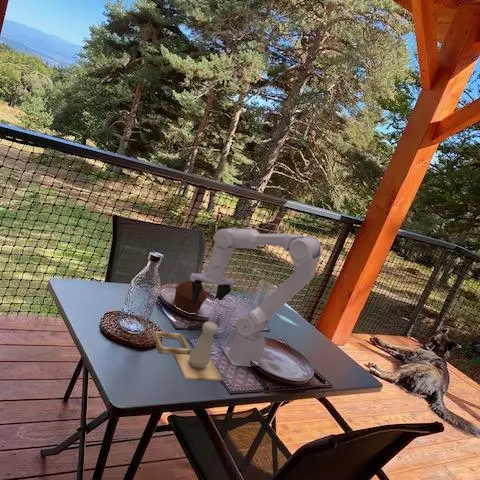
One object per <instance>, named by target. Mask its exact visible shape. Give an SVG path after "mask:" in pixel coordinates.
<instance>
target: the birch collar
mask: <svg viewBox="0 0 480 480" xmlns="http://www.w3.org/2000/svg"><path fill="white" fill-rule="evenodd" d="M152 335H153V337H154V339H155V342H156V344H155V346H156V348H157V351H158V353H160V354H168V355H169V354H170V355H172V354H173V355H174V354H184V355H190V353H191V351H192V350H191V348H190V346H189V345H188V342H187V341H186V339H185V337H184V335H183V334H182V333H176V332H175V333H174V332H164V331H157V330H155V331H154V330H153V331H152V334H151V336H152ZM153 337H152V338H153ZM159 337H162V338H159ZM154 339H153V340H154ZM161 339H171V340H178V341H179V343H180V345H181V347H182V348H181V347H180V348H179V347H167V346H163V344H162V342H161ZM155 342H154V343H155Z"/></svg>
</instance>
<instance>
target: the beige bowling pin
mask: <svg viewBox="0 0 480 480" xmlns="http://www.w3.org/2000/svg"><path fill="white" fill-rule="evenodd" d="M201 330H202V332H201V334H200V336H199V338H198V339H197V341H196V343H195V344H194V346H193V348H192V350H191V352H190V356H189V358H190V364H191V365H192V367H194V368H197V369H203V368H204V367H205V366H206V365H207V364H208V363H209V361H210V358H211V354H212V349H213V342H214V336H215V335H216V334H217V333H218V330H219V328H218V325H217V324H216V323H214V322H213V321H206V322H204V323H203V324H202V327H201Z"/></svg>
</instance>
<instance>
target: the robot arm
mask: <svg viewBox="0 0 480 480" xmlns="http://www.w3.org/2000/svg"><path fill="white" fill-rule="evenodd" d="M213 239H214V240H213V241H214V243H215V244H214V246H213V249H212V253H211V256H210V259H209V262H208V265H207V268H206V271H205V272H204V273H195V272H192V273H190V276H189V281H191V282H192V302H193V304H196V302H197V300H198V296H199V294H200V292H201V290H202V289H204V286H203V285H202V284H203V283H206V284H213V285H217V291H216V293H215V297H214V299H213V305H214V301H215V299H216V298H218V299H219V300H221V301H223V300H224V298H225V297H226V296H227V295H228V294H230V293H231V291H232V289H231V288H234V286H235V281H234V280H233V279H230V278H227V277H224V276H225V274H226V271H227V268H228V265H229V263H230V259H231V257H232V253H233V251H234V248H236V249H237V248H239V249H256V248H257V247H258V246H259V245H265V246H274V247H275V246H279V247H282V249H283V250H284V251H285V252H289V256H290V258H291V261H292V263H293V269H294V270H293V271H294V272H293V273H292V274H291V275H290V276H288V278H287V279H286V280H284V281H283V282H282V283H281V284H280V285H279V286H278V287H277V288H276V289H274V290H273V292H272V293H271V294H270V295H268V296H267V297H266V298H265V299H264V300H263V301H262V302H261V303H259V305H258V306H256V307H255V308H254V309H252V310H251V311H249V312H248V313H247V314H245V315H242V316H239V317H238V319H236V322H235V327H236V332H235V334H234V337H233V339H232V342H231V345H230V348H229V349H223V351H222V352H223V353H224V355H225V356H226V358H227V359H228V361H229V362H230V364H231V365H232V366H234V367H235V366H236V367H238V366H239V367H251V365H250V361H255V362H258V363H260V361H261V358H262V356H263V353H264V351H265V347H266V339H265V336H264V335H263V334H261V332H262V331H263V330H265V329H266V327H267V326H268V322H269V321H270V320H271V319H272V318H273V316H274V315H275V314H276V313H277V312H278V311H279V310H280V309H281V308H283V307H284V305H286V304H287V303H288V302H289V301H290V300H291V299H293V298H294V296H295V295H296V294H297V293H299V292H300V291H301V290H302V289H303V288H304V287H305V286H306V285H307V284H309V283H310V282H311V281H312V280H313V279H314V277H315V275H316V271H317V267H318V265H319V261H320V258H321V256H322V247H321V243H320V241H319V240H318V238H316V237H315V236H311V235H310V236H306V237H305V235H303V234H302V235H301V234H296V233H295V234H294V233H260V232H259V231H258V230H257V229H254V228H253V227H251V226H248V227H246V228H238V227H235V226H234V227H232V228H231V227H230V228H221V229H218V230H217V231H216V232H215V234H214V237H213Z"/></svg>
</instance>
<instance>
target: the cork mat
mask: <svg viewBox="0 0 480 480" xmlns="http://www.w3.org/2000/svg"><path fill="white" fill-rule="evenodd" d="M189 356H190V355H184V354H173V357H174V359H175V361H176V363H177V365H178V367H179V369H180V372H181V373H182V375H183V377H184V380H191V381H192V380H193V381H195V380H196V381H218V382H219V381H220V382H223V380H224V378H223V377H222V375H221V373H220V371H219V370H218V369H217V367H216V365H215V364H214V362H213V359H211V357H210V361H209V363H208V364H207V365H206V366H205V367H204V368H203V369H197V368H194V367H192V365H191V364H190V358H189Z"/></svg>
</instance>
